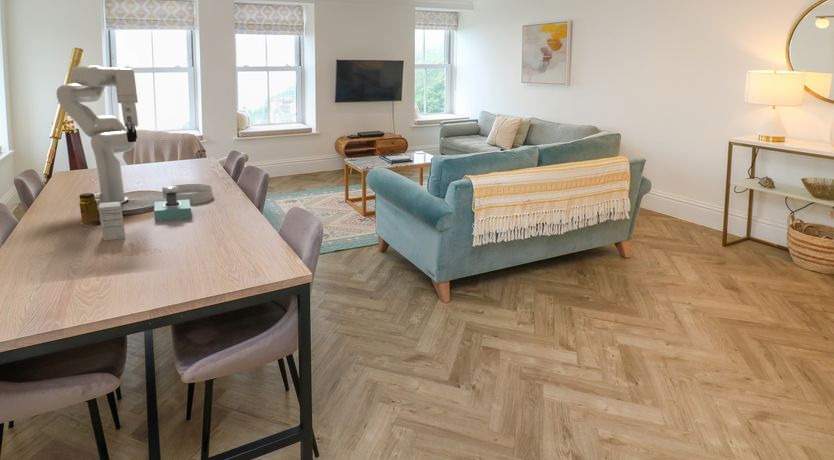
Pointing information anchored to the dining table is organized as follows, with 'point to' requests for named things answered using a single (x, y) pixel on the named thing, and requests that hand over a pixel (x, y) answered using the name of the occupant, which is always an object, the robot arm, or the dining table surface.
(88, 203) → the condiment
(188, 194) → the dish
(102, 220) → the supplement box
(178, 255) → the dining table surface
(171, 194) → the bolt
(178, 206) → the dock
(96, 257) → the dining table surface
